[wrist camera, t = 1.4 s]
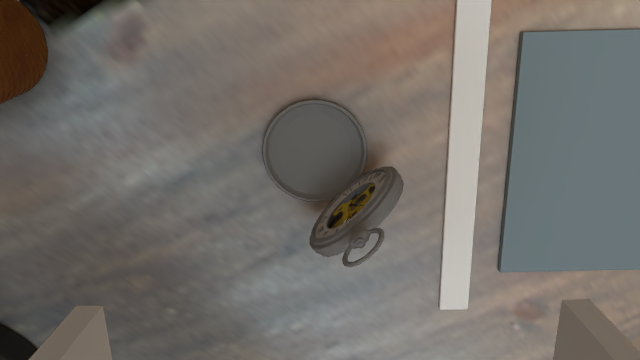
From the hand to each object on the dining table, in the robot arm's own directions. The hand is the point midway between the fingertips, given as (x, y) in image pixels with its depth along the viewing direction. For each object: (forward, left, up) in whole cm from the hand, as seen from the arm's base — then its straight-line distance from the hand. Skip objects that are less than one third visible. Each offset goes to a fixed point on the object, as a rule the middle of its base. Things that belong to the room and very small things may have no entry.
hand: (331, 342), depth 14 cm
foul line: (+9, 0, -19) cm, 21 cm away
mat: (+19, 0, -19) cm, 27 cm away
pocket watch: (0, 0, -19) cm, 19 cm away
